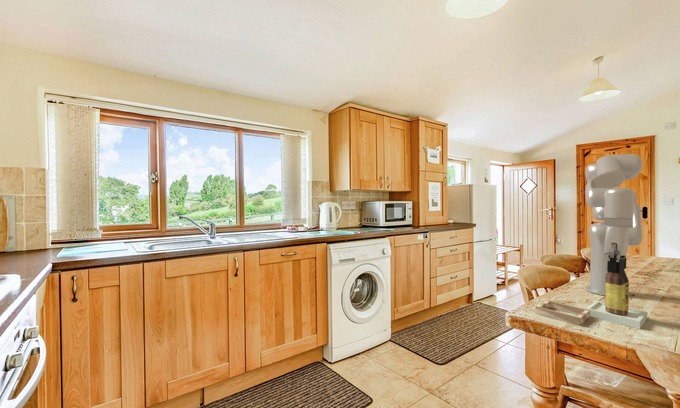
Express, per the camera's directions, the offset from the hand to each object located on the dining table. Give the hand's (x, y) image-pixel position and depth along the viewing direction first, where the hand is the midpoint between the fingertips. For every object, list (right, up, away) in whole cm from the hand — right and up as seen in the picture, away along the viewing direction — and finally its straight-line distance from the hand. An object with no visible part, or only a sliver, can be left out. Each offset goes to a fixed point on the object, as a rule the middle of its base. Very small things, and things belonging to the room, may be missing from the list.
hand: (616, 270), depth 106 cm
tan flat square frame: (-19, -17, +1) cm, 25 cm away
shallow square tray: (0, -17, 0) cm, 17 cm away
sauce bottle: (0, -15, 0) cm, 15 cm away
